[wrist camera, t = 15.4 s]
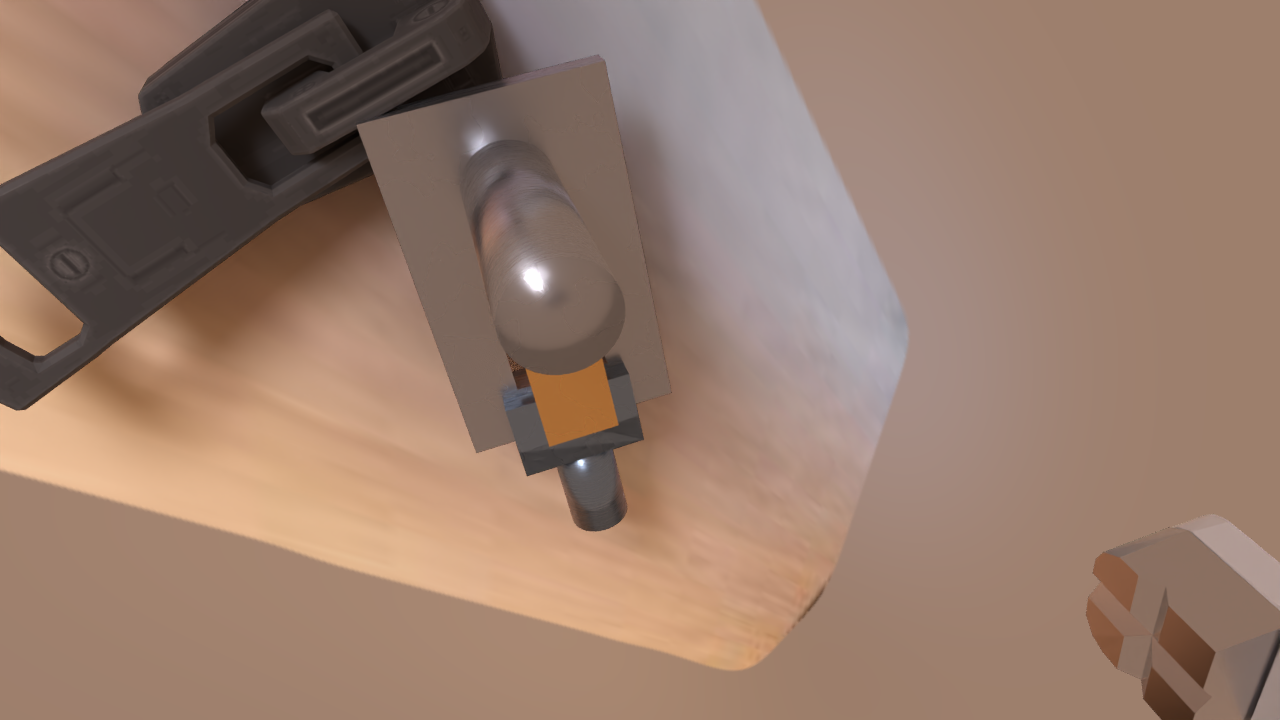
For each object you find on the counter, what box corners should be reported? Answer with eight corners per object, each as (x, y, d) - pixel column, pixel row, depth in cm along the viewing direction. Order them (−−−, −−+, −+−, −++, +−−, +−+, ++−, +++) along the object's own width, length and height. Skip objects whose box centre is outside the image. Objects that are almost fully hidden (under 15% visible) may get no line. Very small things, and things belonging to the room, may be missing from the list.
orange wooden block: (490, 247, 44) (525, 367, 34) (547, 231, 45) (598, 345, 35) (510, 315, 47) (549, 446, 37) (565, 299, 47) (618, 425, 37)
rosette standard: (357, 87, 39) (351, 245, 24) (575, 32, 40) (697, 150, 25) (497, 478, 52) (550, 742, 37) (660, 427, 53) (776, 663, 38)
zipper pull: (-198, 268, 31) (432, -92, 30) (-121, 194, 36) (416, -113, 35) (15, 434, 36) (552, 130, 36) (55, 349, 41) (523, 84, 41)
